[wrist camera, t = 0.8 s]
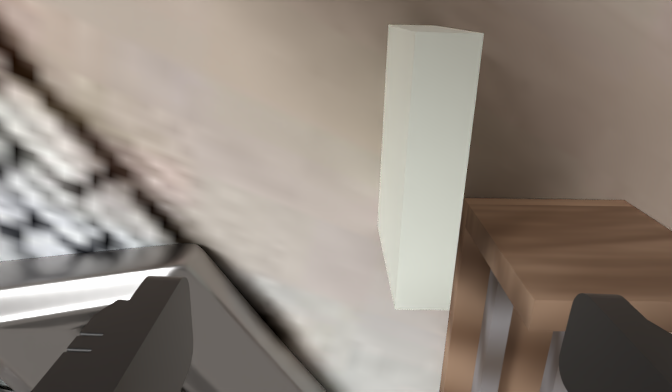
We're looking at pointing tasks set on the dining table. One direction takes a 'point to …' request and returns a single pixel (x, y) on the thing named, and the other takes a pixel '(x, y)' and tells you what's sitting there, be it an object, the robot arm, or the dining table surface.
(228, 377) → the emblem
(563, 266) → the cabinet base
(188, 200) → the dining table surface
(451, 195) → the door panel
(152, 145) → the dining table surface
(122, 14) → the dining table surface
